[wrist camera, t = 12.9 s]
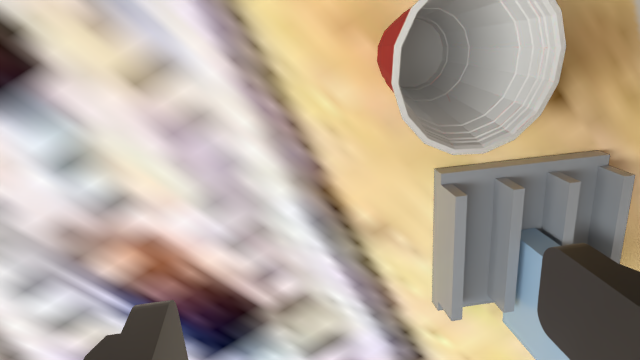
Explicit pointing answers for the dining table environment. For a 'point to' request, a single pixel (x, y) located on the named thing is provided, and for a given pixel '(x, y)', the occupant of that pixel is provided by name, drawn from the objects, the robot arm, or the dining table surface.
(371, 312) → the dining table surface
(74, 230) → the dining table surface
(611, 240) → the dish rack
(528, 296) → the rectangular block
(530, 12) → the plastic cup
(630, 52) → the dining table surface
